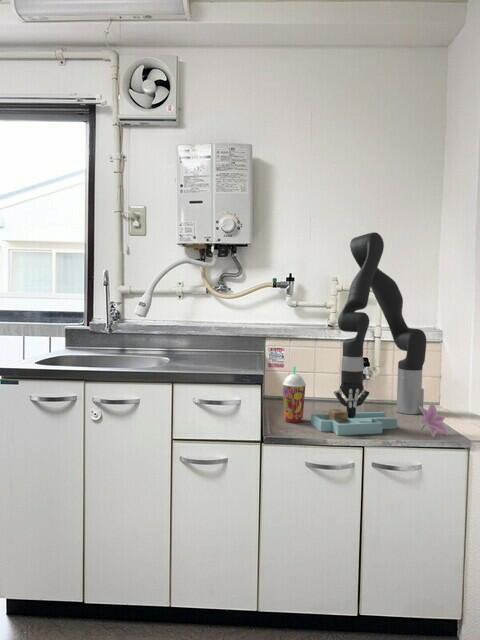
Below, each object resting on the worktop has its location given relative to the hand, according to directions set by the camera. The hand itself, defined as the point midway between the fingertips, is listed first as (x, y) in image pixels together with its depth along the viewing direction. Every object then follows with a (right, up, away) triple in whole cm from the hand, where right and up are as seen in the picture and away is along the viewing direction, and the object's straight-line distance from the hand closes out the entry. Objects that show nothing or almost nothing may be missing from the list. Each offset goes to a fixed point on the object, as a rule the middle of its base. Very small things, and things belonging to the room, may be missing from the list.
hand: (350, 417), depth 184 cm
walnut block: (-5, -1, 0) cm, 5 cm away
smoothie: (-20, -3, +6) cm, 21 cm away
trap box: (+1, -3, -2) cm, 4 cm away
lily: (+26, -4, -7) cm, 27 cm away
